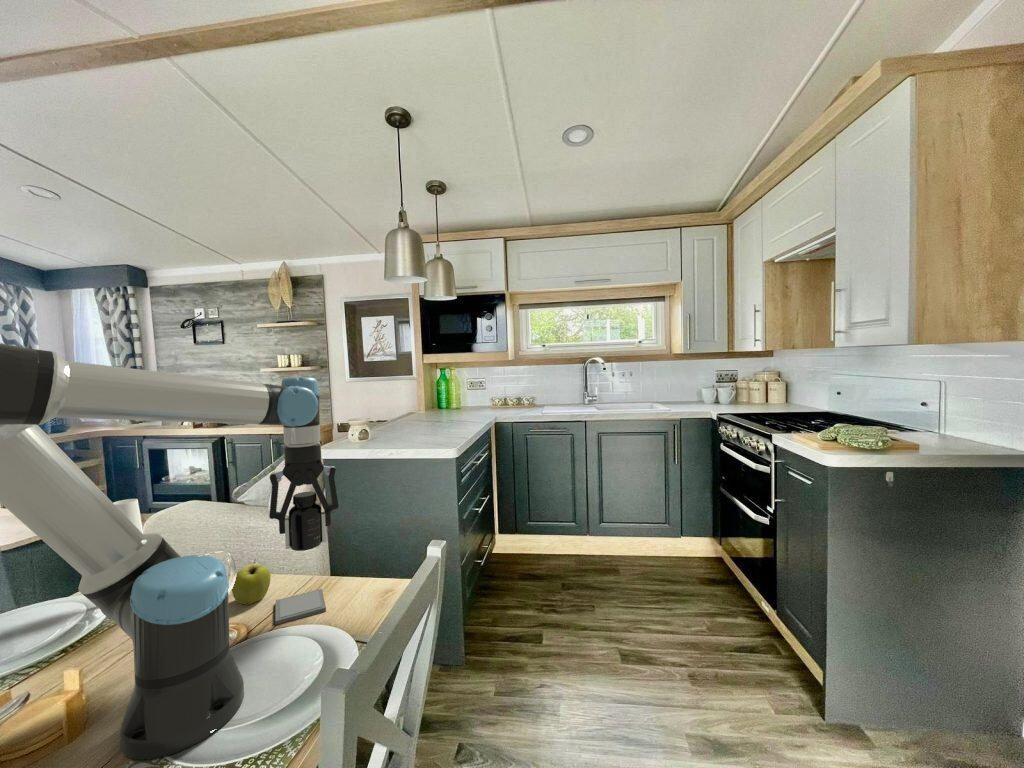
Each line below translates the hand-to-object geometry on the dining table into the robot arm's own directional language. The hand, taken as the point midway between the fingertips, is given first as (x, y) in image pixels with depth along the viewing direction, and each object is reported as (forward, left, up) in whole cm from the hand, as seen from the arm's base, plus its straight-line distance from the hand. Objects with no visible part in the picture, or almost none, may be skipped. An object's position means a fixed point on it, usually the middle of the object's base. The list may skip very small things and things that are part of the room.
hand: (306, 543), depth 95 cm
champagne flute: (+30, +39, -15) cm, 52 cm away
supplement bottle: (0, 0, -1) cm, 1 cm away
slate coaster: (+1, +2, -15) cm, 15 cm away
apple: (+11, +12, -15) cm, 22 cm away
